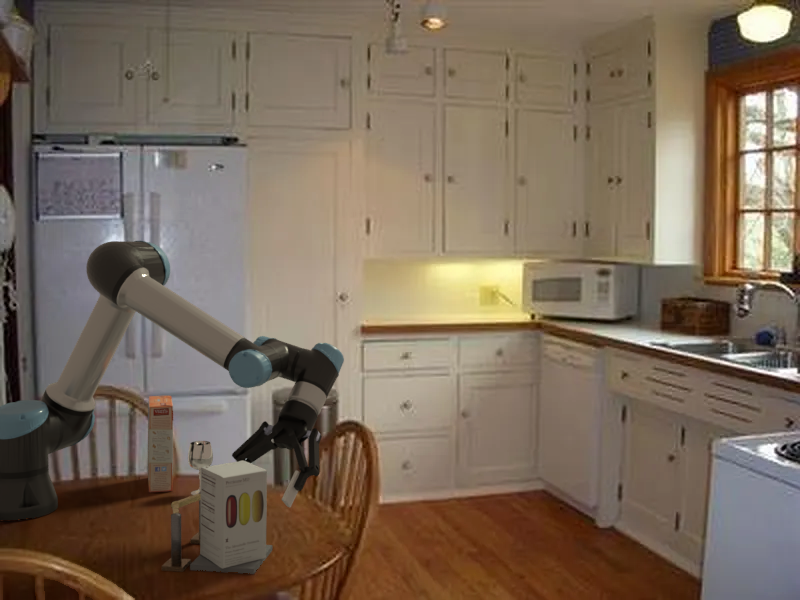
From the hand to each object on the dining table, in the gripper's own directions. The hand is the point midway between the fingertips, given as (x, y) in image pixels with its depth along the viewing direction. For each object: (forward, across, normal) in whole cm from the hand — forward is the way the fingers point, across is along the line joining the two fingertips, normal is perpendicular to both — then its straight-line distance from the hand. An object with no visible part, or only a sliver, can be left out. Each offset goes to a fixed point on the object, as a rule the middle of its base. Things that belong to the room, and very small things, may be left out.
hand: (257, 498), depth 166 cm
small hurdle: (+13, +9, -1) cm, 16 cm away
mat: (+12, 0, -2) cm, 12 cm away
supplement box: (+12, -1, -1) cm, 12 cm away
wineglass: (-8, +34, -22) cm, 41 cm away
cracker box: (-8, +47, -22) cm, 52 cm away
